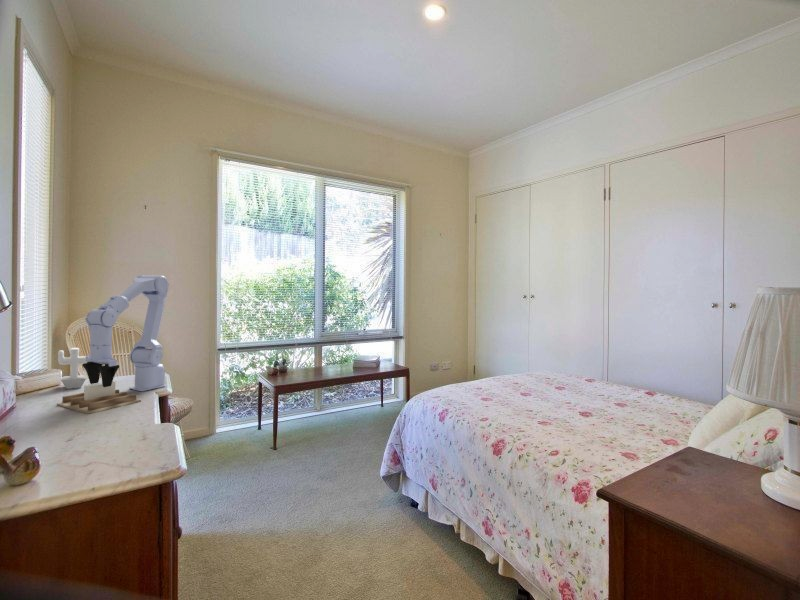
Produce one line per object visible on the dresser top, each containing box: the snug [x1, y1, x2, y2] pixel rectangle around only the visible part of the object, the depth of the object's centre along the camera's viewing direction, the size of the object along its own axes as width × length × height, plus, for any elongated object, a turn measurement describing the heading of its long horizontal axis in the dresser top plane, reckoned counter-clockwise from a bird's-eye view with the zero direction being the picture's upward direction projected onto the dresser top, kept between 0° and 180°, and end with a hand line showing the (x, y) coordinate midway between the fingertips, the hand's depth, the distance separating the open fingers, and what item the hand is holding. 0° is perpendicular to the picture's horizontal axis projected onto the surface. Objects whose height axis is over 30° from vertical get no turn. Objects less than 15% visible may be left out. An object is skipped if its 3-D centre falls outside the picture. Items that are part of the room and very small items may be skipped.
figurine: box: [57, 347, 87, 390], centre depth 148 cm, size 7×9×15 cm
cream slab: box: [83, 381, 116, 400], centre depth 130 cm, size 8×2×6 cm, turn 155°
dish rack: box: [56, 389, 142, 415], centre depth 130 cm, size 16×18×3 cm
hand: (100, 384), depth 130 cm, fingers open, 7 cm apart
